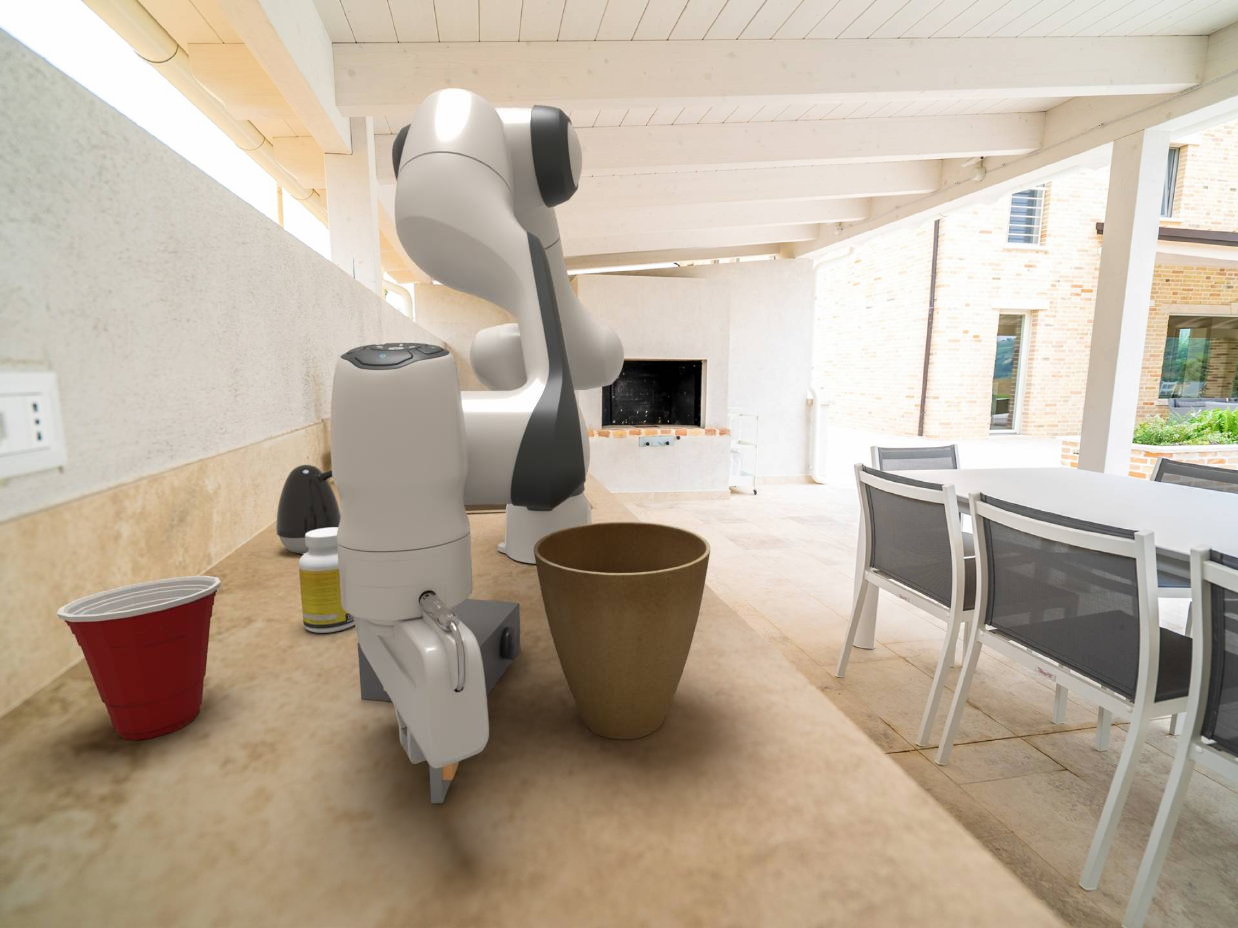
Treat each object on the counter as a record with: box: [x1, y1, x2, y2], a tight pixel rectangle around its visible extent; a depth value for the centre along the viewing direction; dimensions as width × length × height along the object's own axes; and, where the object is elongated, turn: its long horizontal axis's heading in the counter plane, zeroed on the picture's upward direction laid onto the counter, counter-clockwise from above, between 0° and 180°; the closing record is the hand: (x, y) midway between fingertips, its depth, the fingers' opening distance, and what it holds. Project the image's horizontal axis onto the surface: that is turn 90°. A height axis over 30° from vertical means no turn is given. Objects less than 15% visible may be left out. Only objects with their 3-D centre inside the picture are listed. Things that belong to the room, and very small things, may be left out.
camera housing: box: [357, 598, 522, 703], centre depth 59 cm, size 12×12×6 cm
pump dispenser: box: [275, 464, 341, 554], centre depth 101 cm, size 10×10×15 cm
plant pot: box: [534, 521, 711, 740], centre depth 50 cm, size 15×15×16 cm
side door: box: [428, 761, 460, 804], centre depth 46 cm, size 2×12×5 cm, turn 1°
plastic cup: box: [56, 575, 222, 741], centre depth 50 cm, size 11×11×12 cm
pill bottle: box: [298, 527, 355, 634], centre depth 70 cm, size 6×6×12 cm
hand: (417, 751), depth 43 cm, fingers closed
